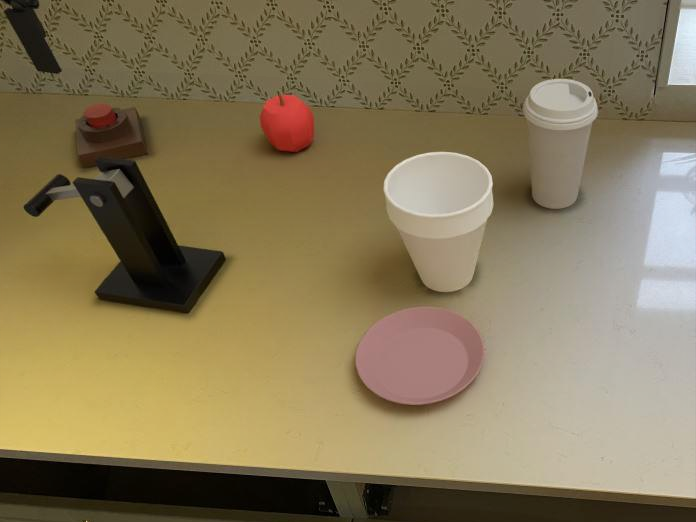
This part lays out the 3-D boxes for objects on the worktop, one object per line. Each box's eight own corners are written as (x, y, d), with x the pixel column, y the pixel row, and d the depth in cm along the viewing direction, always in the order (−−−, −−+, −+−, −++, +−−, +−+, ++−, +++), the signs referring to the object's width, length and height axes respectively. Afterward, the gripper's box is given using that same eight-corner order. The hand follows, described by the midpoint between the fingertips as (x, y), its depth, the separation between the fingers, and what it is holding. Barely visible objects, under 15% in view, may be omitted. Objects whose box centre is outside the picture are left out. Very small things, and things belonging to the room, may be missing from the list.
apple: (299, 164, 98) (285, 114, 92) (257, 151, 100) (240, 102, 94) (329, 137, 103) (318, 88, 96) (288, 126, 105) (274, 77, 98)
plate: (382, 433, 68) (379, 422, 66) (343, 341, 76) (339, 329, 74) (505, 386, 71) (505, 375, 70) (456, 303, 80) (455, 291, 78)
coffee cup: (576, 222, 89) (586, 120, 77) (511, 206, 91) (512, 105, 80) (596, 183, 95) (608, 83, 83) (535, 169, 97) (538, 70, 85)
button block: (81, 132, 104) (68, 108, 101) (141, 119, 106) (129, 95, 103) (85, 168, 98) (71, 144, 95) (147, 154, 100) (136, 130, 97)
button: (88, 118, 100) (82, 107, 98) (116, 112, 101) (110, 101, 99) (89, 130, 98) (83, 120, 96) (118, 124, 99) (112, 114, 97)
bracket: (99, 300, 80) (24, 192, 68) (143, 247, 86) (81, 139, 74) (188, 313, 79) (128, 205, 66) (226, 259, 85) (178, 151, 72)
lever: (34, 220, 74) (17, 202, 72) (66, 189, 78) (50, 172, 76) (113, 209, 70) (97, 190, 68) (143, 177, 74) (129, 158, 72)
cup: (477, 316, 78) (472, 225, 67) (383, 296, 80) (364, 204, 70) (506, 252, 85) (506, 160, 75) (419, 235, 88) (407, 143, 77)
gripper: (-251, -90, 46) (-50, 171, 63) (0, -177, 61) (108, 52, 78) (-333, -99, 47) (-114, 159, 64) (-67, -182, 62) (54, 45, 79)
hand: (8, 101), depth 71 cm, fingers open, 13 cm apart
